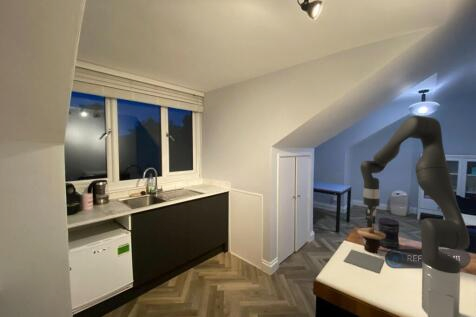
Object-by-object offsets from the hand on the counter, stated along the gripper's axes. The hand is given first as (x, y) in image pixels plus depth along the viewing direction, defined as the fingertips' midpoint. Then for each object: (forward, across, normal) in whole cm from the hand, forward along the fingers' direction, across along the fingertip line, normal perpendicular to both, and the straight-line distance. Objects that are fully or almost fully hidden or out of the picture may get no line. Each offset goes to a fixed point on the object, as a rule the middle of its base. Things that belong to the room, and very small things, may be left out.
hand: (371, 225), depth 111 cm
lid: (+5, 0, 0) cm, 5 cm away
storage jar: (+15, +14, -6) cm, 22 cm away
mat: (+15, -13, +1) cm, 20 cm away
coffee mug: (+15, 0, 0) cm, 15 cm away
